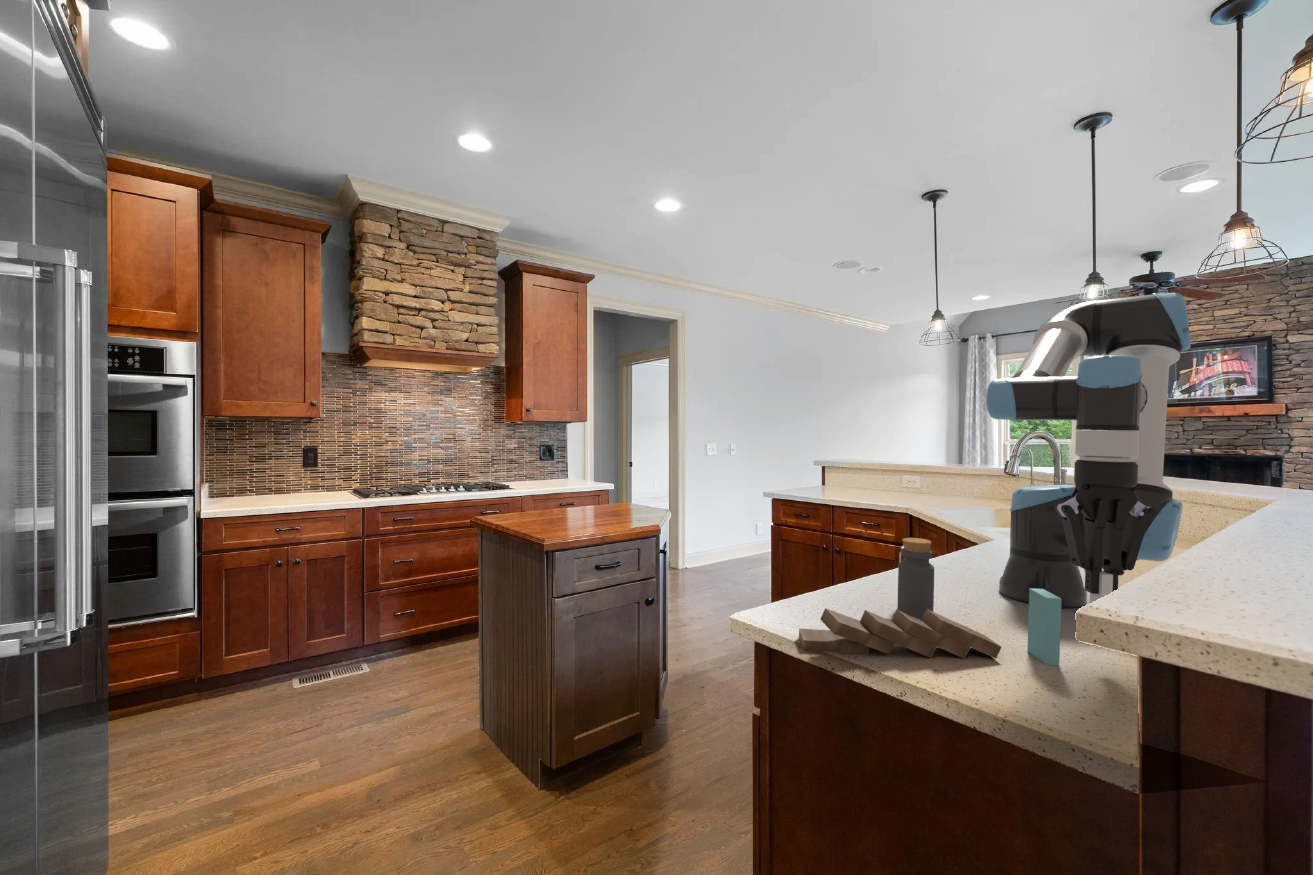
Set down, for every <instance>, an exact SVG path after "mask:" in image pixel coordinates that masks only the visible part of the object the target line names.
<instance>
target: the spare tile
mask: <svg viewBox="0 0 1313 875" xmlns="http://www.w3.org/2000/svg"><path fill="white" fill-rule="evenodd" d="M1061 600H1062V599H1061V598H1059V597H1057V596H1055V595H1054V594H1052V593H1050V592H1048V591H1046V590H1044V589H1033V588H1029V603H1028V622H1027V627H1028V628H1027V652H1028V653H1029V654H1030V655H1032V656H1033V657H1034V658H1036V659H1037V660H1039V662H1041V663H1042V664H1044V665H1047V666H1048V665H1049V666H1052V665H1053V666H1060V658H1061V657H1060V654H1061V653H1060V652H1061V629H1062V628H1061V627H1062V626H1061V625H1062V624H1061V623H1062V622H1061V621H1062V607H1061Z"/></svg>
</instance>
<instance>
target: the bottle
mask: <svg viewBox="0 0 1313 875" xmlns="http://www.w3.org/2000/svg"><path fill="white" fill-rule="evenodd" d="M902 544H903V545H902V546H904V548H900V551H901V555H903V556H904V560H903V561H901V562H900V563H899V562H898V569H897V571H898V572H897V573H898V574H897V578H898V579H897V605H896V606H897V609H896V611H897V610H900V611H902V612H904V613H906V614H909V615H911V616H913V617H915V618H917V619H920V620H922V618H923V616H924V613H925V611H926V609H928V610H930V611H932V612H934V605H935V604H934V603H935V601H934V599H935V594H934V593H935V567H934V565H933V564H932V563H930V559H932V558H933V551H932V550H931V546H932V541H931V540H929V539H925V538H921V537H920V538H918V537H905V538H902Z"/></svg>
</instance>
